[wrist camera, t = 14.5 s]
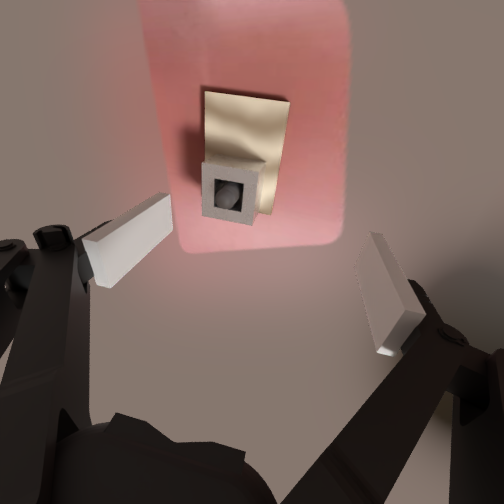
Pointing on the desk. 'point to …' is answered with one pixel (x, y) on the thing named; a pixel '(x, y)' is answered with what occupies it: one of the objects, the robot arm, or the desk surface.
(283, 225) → the desk surface
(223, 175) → the gray cube
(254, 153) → the board
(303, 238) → the desk surface
